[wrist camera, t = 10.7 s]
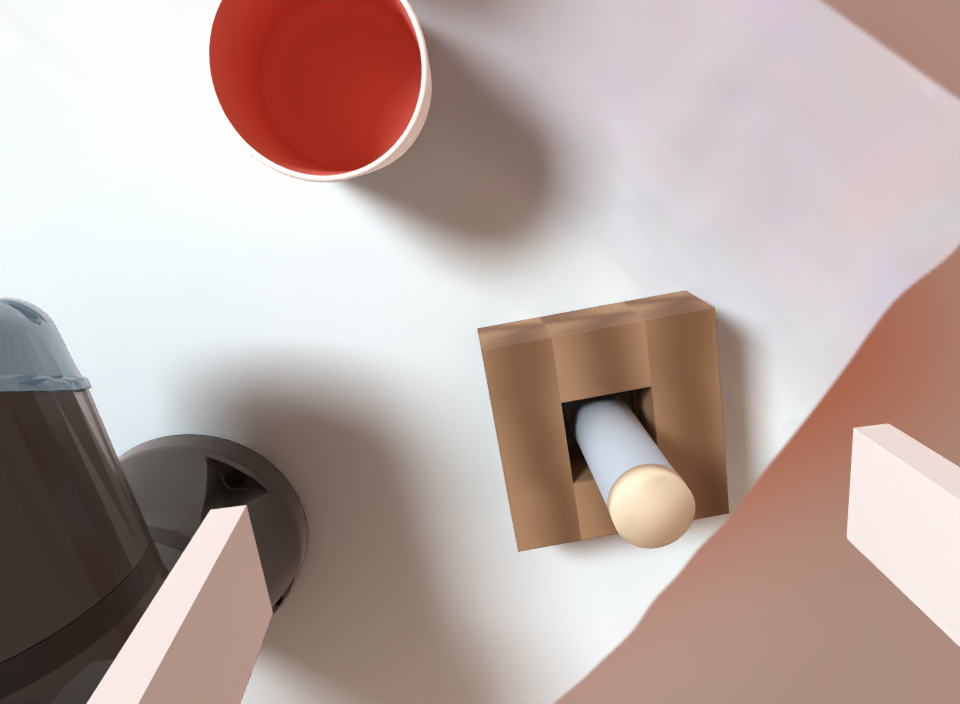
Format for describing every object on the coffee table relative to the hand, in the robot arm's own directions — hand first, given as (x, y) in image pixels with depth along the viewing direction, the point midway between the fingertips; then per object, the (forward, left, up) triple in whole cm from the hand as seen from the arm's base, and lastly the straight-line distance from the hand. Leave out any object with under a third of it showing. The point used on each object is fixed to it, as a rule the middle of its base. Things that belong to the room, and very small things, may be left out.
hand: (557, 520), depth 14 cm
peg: (+6, -11, -30) cm, 32 cm away
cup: (-6, +12, -30) cm, 33 cm away
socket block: (+6, -11, -30) cm, 32 cm away
